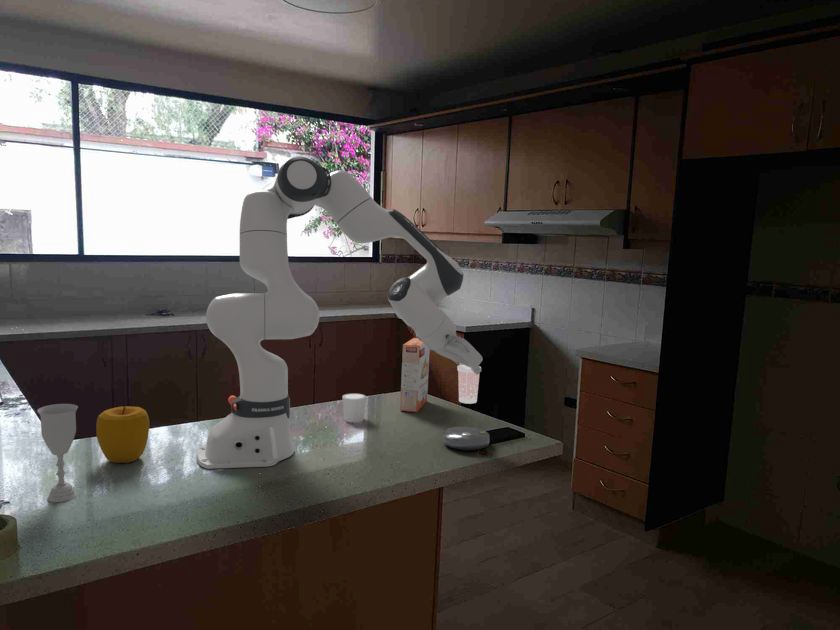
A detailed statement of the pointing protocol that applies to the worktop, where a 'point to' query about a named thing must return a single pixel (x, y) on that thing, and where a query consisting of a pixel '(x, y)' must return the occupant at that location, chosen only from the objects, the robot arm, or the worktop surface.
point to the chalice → (59, 443)
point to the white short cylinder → (354, 407)
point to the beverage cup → (467, 384)
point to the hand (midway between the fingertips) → (471, 368)
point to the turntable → (466, 438)
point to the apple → (123, 433)
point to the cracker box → (414, 375)
